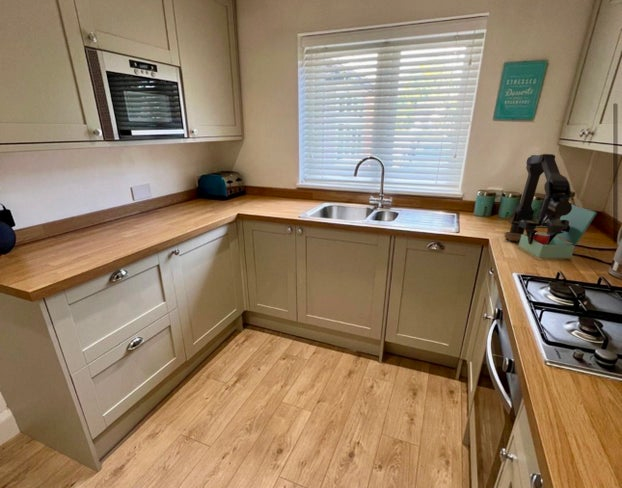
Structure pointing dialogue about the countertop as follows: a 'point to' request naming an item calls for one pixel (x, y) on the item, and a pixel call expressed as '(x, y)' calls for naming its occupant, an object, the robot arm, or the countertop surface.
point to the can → (541, 238)
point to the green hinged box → (548, 248)
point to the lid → (576, 224)
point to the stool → (513, 236)
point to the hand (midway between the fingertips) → (537, 244)
